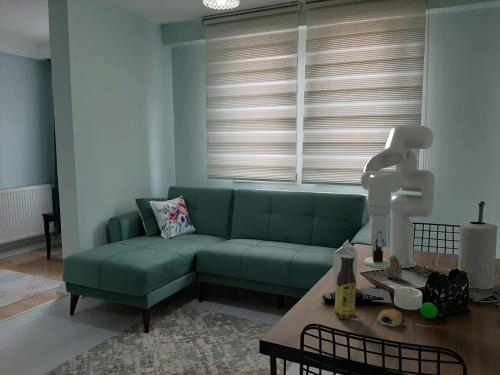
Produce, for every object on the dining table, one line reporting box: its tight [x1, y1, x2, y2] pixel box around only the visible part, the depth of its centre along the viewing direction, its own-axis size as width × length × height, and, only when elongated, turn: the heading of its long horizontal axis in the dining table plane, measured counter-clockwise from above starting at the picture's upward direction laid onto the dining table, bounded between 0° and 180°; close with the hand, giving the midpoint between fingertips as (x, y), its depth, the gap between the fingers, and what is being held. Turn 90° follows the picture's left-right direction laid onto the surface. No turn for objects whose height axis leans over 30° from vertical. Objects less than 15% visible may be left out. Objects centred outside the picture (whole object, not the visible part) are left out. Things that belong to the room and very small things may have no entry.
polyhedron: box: [419, 302, 438, 319], centre depth 129 cm, size 5×5×5 cm
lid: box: [363, 243, 391, 270], centre depth 145 cm, size 9×9×7 cm
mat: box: [359, 287, 393, 304], centre depth 146 cm, size 12×10×1 cm
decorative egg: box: [384, 255, 401, 280], centre depth 162 cm, size 6×6×10 cm
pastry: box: [376, 308, 403, 328], centre depth 128 cm, size 9×7×4 cm
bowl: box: [393, 286, 423, 311], centre depth 138 cm, size 8×8×5 cm
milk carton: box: [332, 239, 358, 293], centre depth 150 cm, size 7×7×19 cm
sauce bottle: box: [334, 255, 357, 320], centre depth 130 cm, size 6×6×20 cm
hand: (377, 259), depth 145 cm, fingers closed on lid, 3 cm apart
